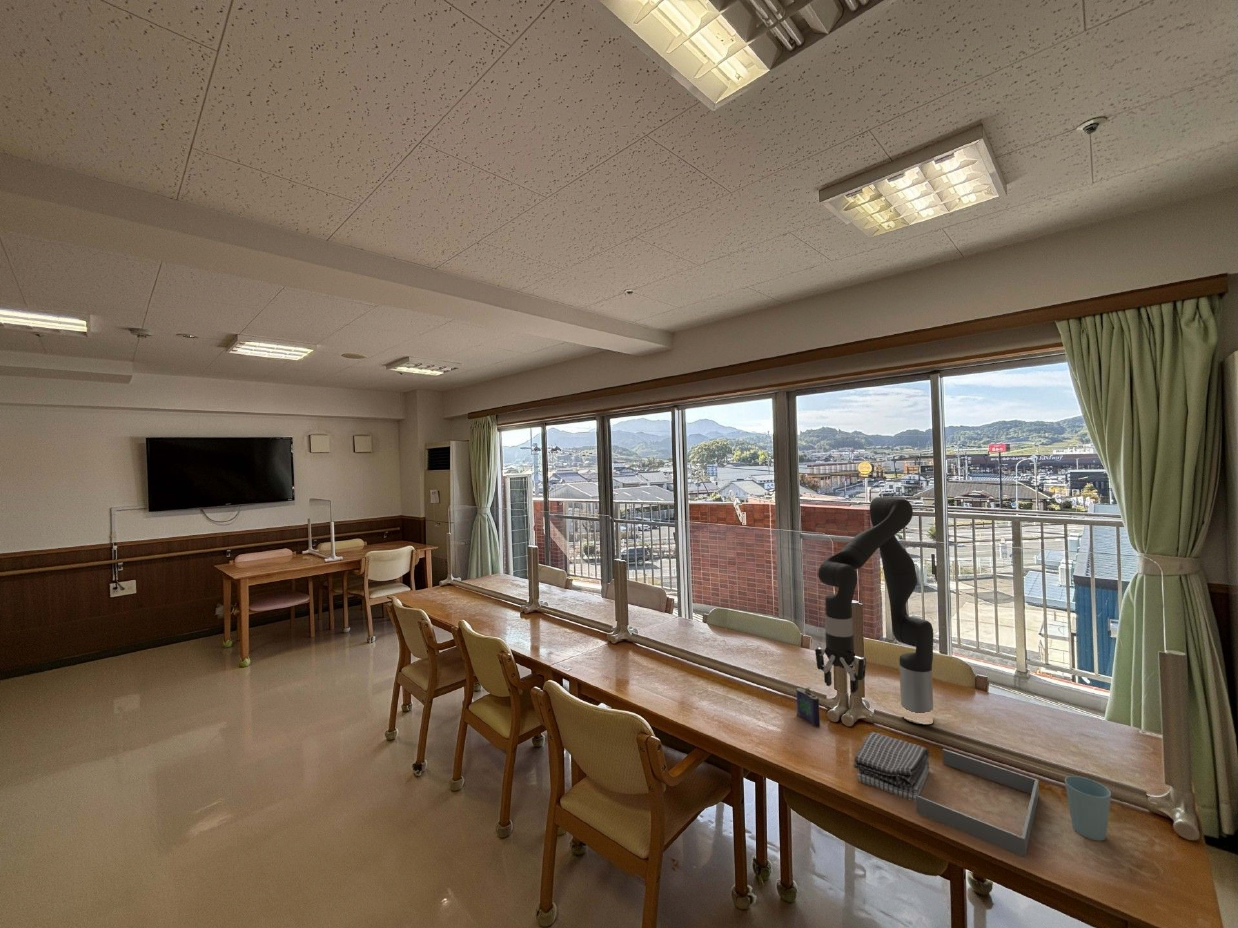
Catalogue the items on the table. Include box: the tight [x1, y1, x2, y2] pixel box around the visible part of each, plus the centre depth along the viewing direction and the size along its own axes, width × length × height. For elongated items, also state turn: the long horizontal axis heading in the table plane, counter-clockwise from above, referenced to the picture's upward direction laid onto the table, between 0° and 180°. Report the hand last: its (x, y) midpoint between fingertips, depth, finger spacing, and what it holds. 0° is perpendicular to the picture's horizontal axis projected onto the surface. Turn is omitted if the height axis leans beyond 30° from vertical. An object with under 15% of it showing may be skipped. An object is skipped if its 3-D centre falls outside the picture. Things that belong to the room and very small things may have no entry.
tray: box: [915, 748, 1040, 858], centre depth 123 cm, size 27×21×4 cm
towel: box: [853, 731, 930, 803], centre depth 135 cm, size 15×18×8 cm
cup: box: [1064, 775, 1112, 842], centre depth 113 cm, size 8×8×10 cm
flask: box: [795, 687, 821, 728], centre depth 165 cm, size 9×3×11 cm, turn 24°
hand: (841, 688), depth 145 cm, fingers open, 6 cm apart
